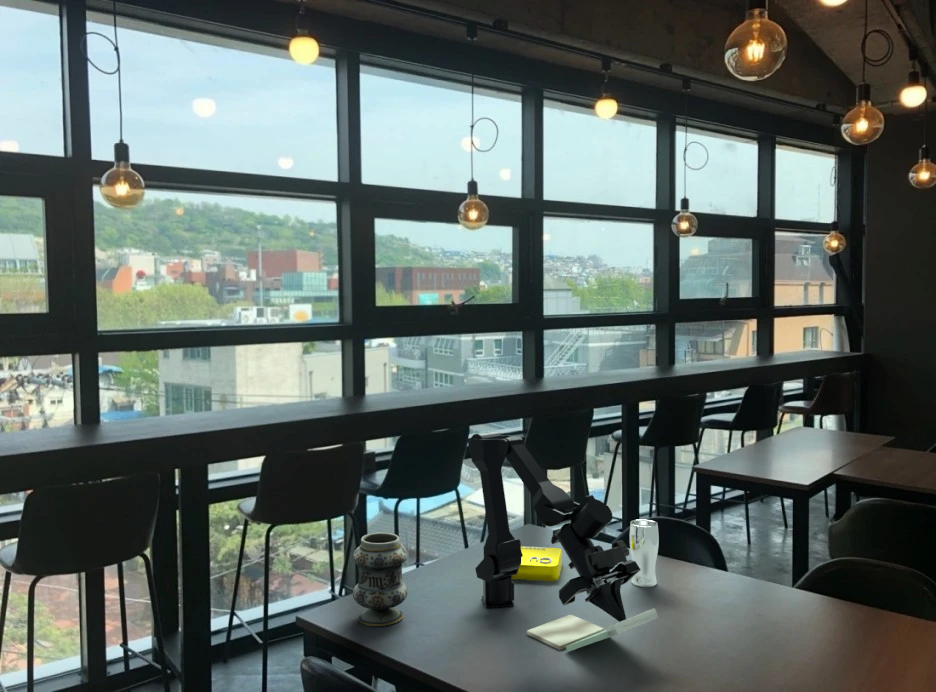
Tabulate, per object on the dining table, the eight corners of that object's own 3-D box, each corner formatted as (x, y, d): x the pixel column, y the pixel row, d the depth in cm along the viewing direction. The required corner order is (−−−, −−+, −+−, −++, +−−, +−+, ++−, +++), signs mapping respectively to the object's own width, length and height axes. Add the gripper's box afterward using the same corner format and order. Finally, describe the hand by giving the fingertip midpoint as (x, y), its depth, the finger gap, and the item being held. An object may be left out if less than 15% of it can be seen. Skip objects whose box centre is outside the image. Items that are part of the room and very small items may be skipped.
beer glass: (659, 588, 180) (659, 527, 179) (629, 587, 181) (629, 526, 181) (657, 578, 187) (657, 519, 186) (629, 577, 188) (629, 518, 188)
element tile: (562, 563, 200) (562, 546, 200) (558, 583, 186) (558, 564, 185) (507, 560, 203) (507, 543, 203) (499, 579, 189) (498, 561, 188)
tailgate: (563, 642, 148) (613, 624, 137) (604, 626, 155) (654, 608, 145) (567, 651, 147) (617, 634, 137) (607, 634, 154) (658, 617, 144)
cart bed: (526, 634, 155) (526, 630, 155) (570, 617, 163) (570, 614, 163) (559, 650, 148) (559, 646, 148) (603, 632, 156) (603, 628, 156)
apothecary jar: (419, 616, 165) (418, 536, 164) (377, 634, 156) (376, 549, 156) (383, 602, 173) (382, 526, 173) (342, 618, 165) (340, 538, 164)
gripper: (569, 538, 141) (614, 613, 133) (633, 520, 152) (678, 588, 144) (540, 568, 147) (582, 642, 139) (603, 549, 159) (645, 616, 151)
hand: (623, 621), depth 143 cm, fingers closed
